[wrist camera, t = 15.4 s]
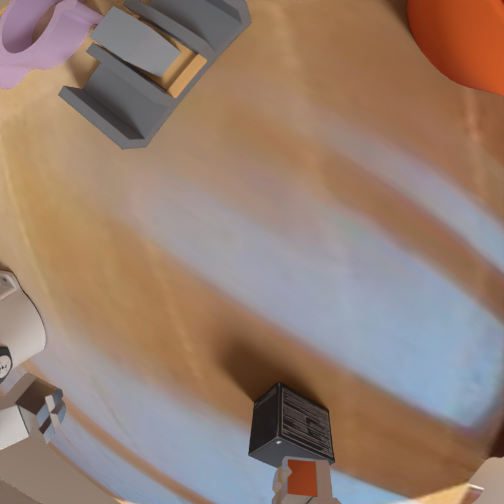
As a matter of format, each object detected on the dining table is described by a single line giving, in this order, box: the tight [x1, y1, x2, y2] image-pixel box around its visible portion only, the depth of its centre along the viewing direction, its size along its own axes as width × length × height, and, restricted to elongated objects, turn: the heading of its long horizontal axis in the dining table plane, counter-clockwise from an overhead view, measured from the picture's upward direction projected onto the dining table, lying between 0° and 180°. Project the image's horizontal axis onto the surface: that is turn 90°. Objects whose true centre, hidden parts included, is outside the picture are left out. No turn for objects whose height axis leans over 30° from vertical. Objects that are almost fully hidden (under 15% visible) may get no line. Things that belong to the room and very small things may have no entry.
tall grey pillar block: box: [89, 6, 181, 78], centre depth 25 cm, size 4×5×9 cm
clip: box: [0, 0, 104, 89], centre depth 27 cm, size 20×12×7 cm, turn 109°
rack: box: [58, 0, 252, 149], centre depth 28 cm, size 19×11×6 cm, turn 140°
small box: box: [248, 383, 335, 468], centre depth 41 cm, size 11×6×10 cm, turn 52°
